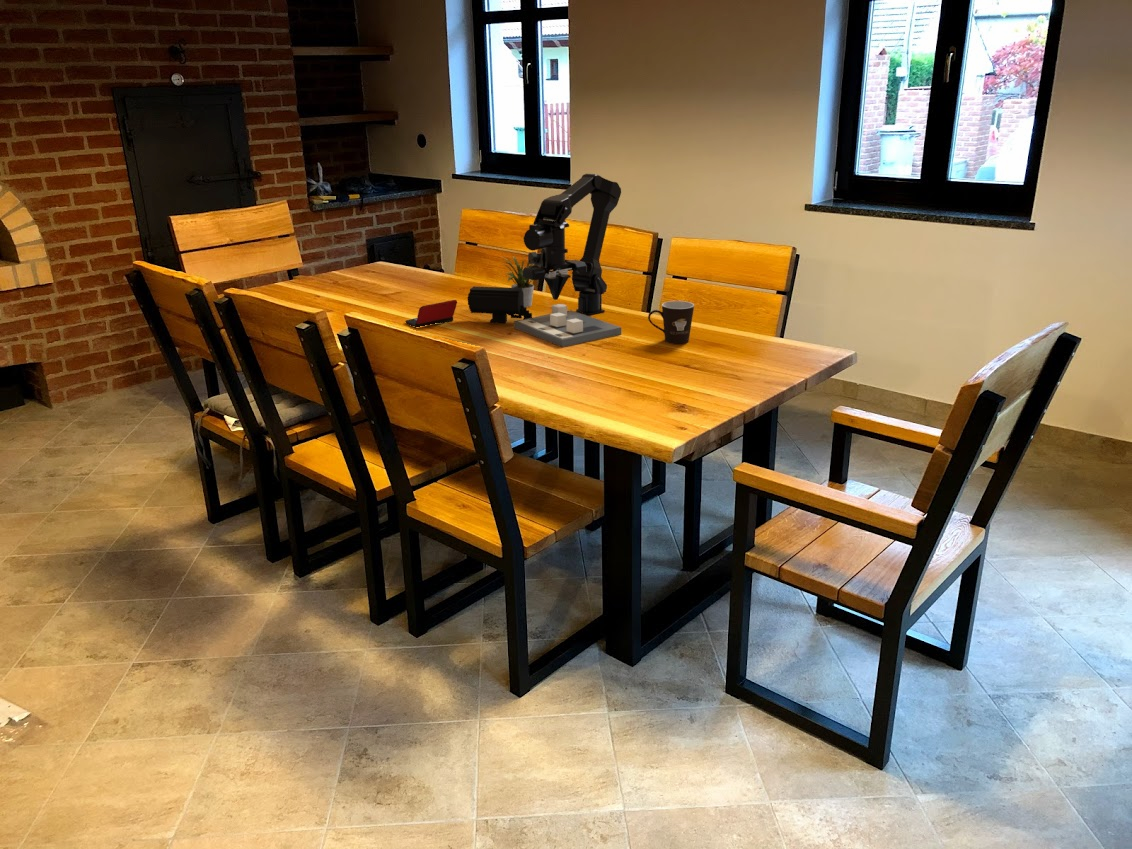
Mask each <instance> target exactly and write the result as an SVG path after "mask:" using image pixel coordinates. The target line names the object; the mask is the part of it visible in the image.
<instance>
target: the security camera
mask: <svg viewBox="0 0 1132 849" xmlns="http://www.w3.org/2000/svg"><path fill="white" fill-rule="evenodd" d="M467 306H468V309H469V312H470V313H471V314H491V319H490V320H489V324H501V325H503V324H504V325H505V324H506V323H507V322H508V316H510V319H522V317H523V319H528V318H533V313H532V312H530V310H529V309H527V308H528V307H524V293H523V290H522V288H511V287H505V286H503V287H502V286H501V287H499V286H498V287H497V286H476V285H475V286H472V287H471V288H470V289H469V292H468V294H467Z"/></svg>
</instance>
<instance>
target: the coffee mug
mask: <svg viewBox="0 0 1132 849" xmlns="http://www.w3.org/2000/svg"><path fill="white" fill-rule="evenodd" d="M661 309H662V311H661V310H658V309H655V310H651V311H650V312H649V313H648V316H647V319H648V321H649V323H650V324H651V325H652V326H653V327H654V328H656V329H658V330H660V331H661V332H663V336H664V341H665V343H667V344H671V345H685V344H688V343H689V341H690V335H691V329H692V322H693V316H694V310H695V304H694V302H693V303H692V302H690V301H684V300H669V301H666V302H665V301H664V302H663V303H662V304H661ZM655 313H657V314H659V315H660V316H661V318H662V322H663V328H662V327H660V326H658V325H656V324H655V323H653V321H652V320H651V316H652V315H653V314H655Z"/></svg>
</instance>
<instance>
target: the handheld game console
mask: <svg viewBox="0 0 1132 849" xmlns="http://www.w3.org/2000/svg"><path fill="white" fill-rule="evenodd" d="M457 305H458V300H457V299H452V300H447V301H442V302H438V303H432V304H428V305H427V304H426V305H422V306H420V307H419V309H418V313H417V317H414V318H411V319H406V320H404V321H405V322H406V323H407V324H409V325H408V326H410V325H411V326H410V327H412V326H415V327H420V326H425V325H430V324H435V323H442V324H446V323H445V322H447V323H451V322H453V321H454V315H455V311H456V308H457ZM406 323H405V324H406ZM407 324H406V325H407ZM435 325H436V324H435Z"/></svg>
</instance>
